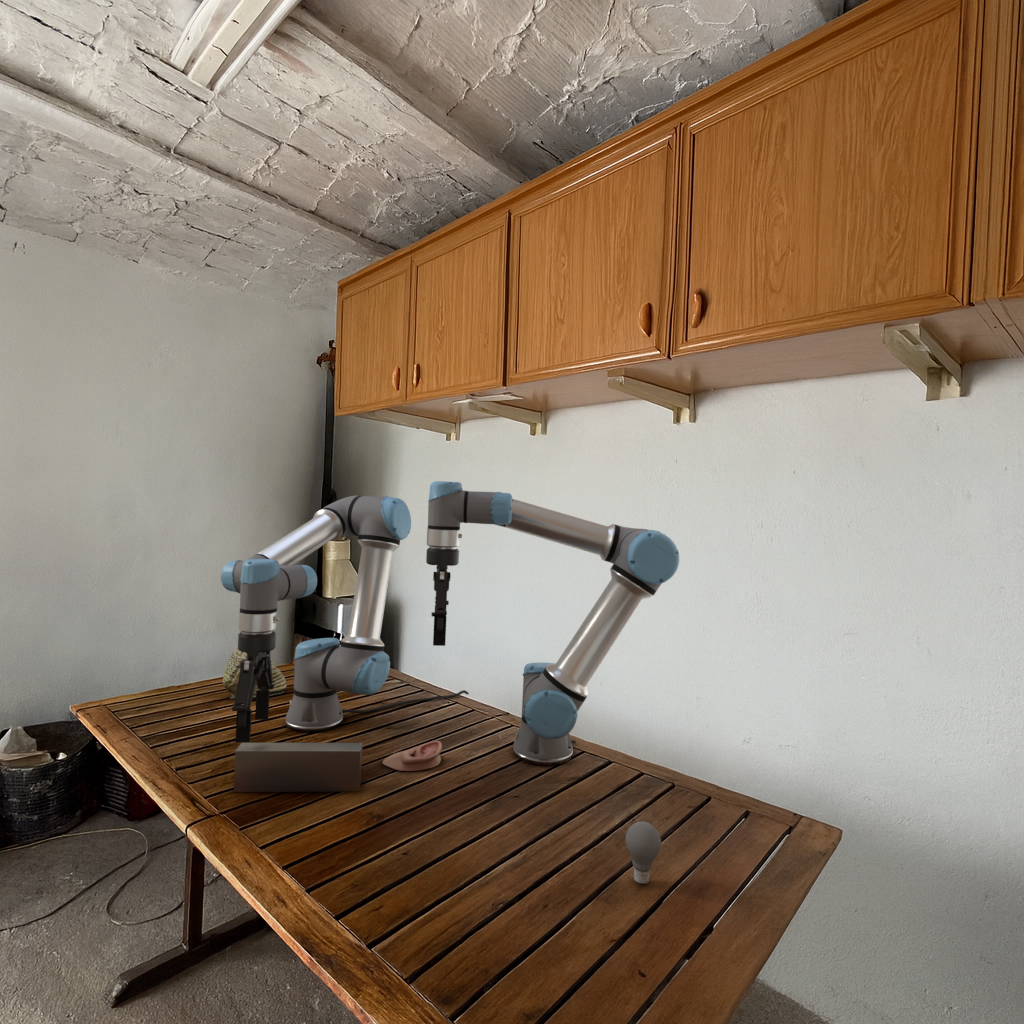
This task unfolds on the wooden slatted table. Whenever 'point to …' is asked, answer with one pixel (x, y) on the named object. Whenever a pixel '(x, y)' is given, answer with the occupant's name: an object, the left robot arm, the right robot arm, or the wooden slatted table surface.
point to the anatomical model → (416, 757)
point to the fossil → (278, 680)
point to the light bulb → (642, 848)
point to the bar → (298, 767)
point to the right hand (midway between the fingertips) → (439, 638)
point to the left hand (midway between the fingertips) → (252, 730)
